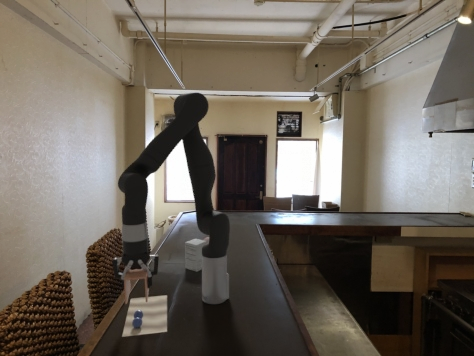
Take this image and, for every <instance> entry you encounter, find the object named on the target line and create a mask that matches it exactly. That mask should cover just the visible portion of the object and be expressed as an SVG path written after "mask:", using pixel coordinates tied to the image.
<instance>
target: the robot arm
mask: <svg viewBox="0 0 474 356" xmlns="http://www.w3.org/2000/svg"><path fill="white" fill-rule="evenodd" d="M209 105H210V104H209V100H208V98H207V97H206V96H205V95H204V94H203V93H202V92H201V93H200V92H196V91H191V92H185V93H182V94H179V95H178V96H176V98H175V100H174V101H173V112H174V116H175V117H174V119H173V120H172V121H171V122H170V123H169V125H167V126H166V127H165V128H164V129H163V130H162V131H160V132H159V133H158V134H157V135H156V136H155V137H154V138H152V140H151V141H150V142H149V143H148V144H147V145H146V147H144V149H143V151H142V152H141V153H140V155H139V156H138V157H137V158H136V159H135V160H134V161H133V162H132V163H131V164H129V165H128V166H127V168H125V170H124V171H123V172H122V173H121V175H120V176H119V178H118V181H117V187H118V189H119V191H120V192H122V193H123V194H124V205H122V208H121V223H122V226H121V242H122V244H121V245H122V256H120V257H117V256H115V257H113V259H112V261H111V263H112V269H113V274H114V278H115V279H120V280H121V289H122V290H124V277H125V273H127V274H128V272H129V270H130V269H131V270H135V269H143V270H144V272H147V276H148V277H147V279H148V288H149V289H151V287H152V286H153V276H155V275H158V271H159V269H158V268H159V259H160V258H159V257H160V255H159V253H155V254H150V251H149V234H148V233H149V232H148V225H147V209H146V207H147V201H148V194H149V184H148V180H147V178H148V177H149V176H150V175H151V174H154V173H156V172H157V171H158V170H159V169H160V168H161V167H162V165H163V164H164V163H165V161H166V160H167V159H168V157H169V156H170V154H171V153H172V152H173V151H174V149H175V148H176V147H177V146H178V144H180V142H181V141H182V145H183V150H184V154H185V155H184V156H185V159H186V165H187V170H188V176H189V179H190V183H191V184H190V185H191V190H192V194H193V199H194V207H195V219H196V225H197V227H198V230H199V231H200V233H202V234H204V235H207V236H208V235H209V244H206V245H204V246H203V247H202V269H201V300H202V302H204V303H205V304H209V305H219V304H223V303H224V302H226V301H227V300H228V299H230V274H229V273H228V269H227V268H228V257H227V255H228V248H229V244H230V231H231V228H230V227H231V224H230V223H231V222H230V218H229V216H228V215H227V214H226V213H224V212H221V211H218V210H215V209H214V205H213V200H212V192H213V188H214V186H215V181H216V178H217V177H216V176H217V173H216V168H215V167H216V166H215V161H214V158H213V155H212V152H211V151H210V149H209V147H208V145H207V144H206V142H205V140H204V138H203V136H202V133H201V130H200V125H199V123H200V122H201V121H202V120H203V119H204V118H205V117H206V116H207V114H208V111H209V107H210V106H209ZM150 260H151V262H152V263H153V269H151V268H150V266H149V263H148V262H149V261H150ZM121 262H122V263H123V264H124V265H125V268H124V270H123V272H121V271H120V264H121Z"/></svg>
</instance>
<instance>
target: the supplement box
mask: <svg viewBox="0 0 474 356" xmlns="http://www.w3.org/2000/svg"><path fill="white" fill-rule="evenodd" d="M206 244H207V241H204V239H199V238H193V239H191V240H188V241H185V242H184V255H185V258H184V261H185V262H184V263H185V265H184V266H185V269H187V270H190V271H194V272H199V271H202V247H203V246H204V245H206Z"/></svg>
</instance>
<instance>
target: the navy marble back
mask: <svg viewBox="0 0 474 356" xmlns="http://www.w3.org/2000/svg"><path fill="white" fill-rule="evenodd" d="M137 317H139V318H141V319H142V318H143V312H142V311H141V310H137V311H136V312H135V313H134V319H135V318H137Z"/></svg>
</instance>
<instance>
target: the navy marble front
mask: <svg viewBox="0 0 474 356" xmlns="http://www.w3.org/2000/svg"><path fill="white" fill-rule="evenodd" d="M132 325H133V327H135V328H139V327H140V326H141V325H142V319H141V318H139V317H137V318H135V319H134V320H133V322H132Z"/></svg>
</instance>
